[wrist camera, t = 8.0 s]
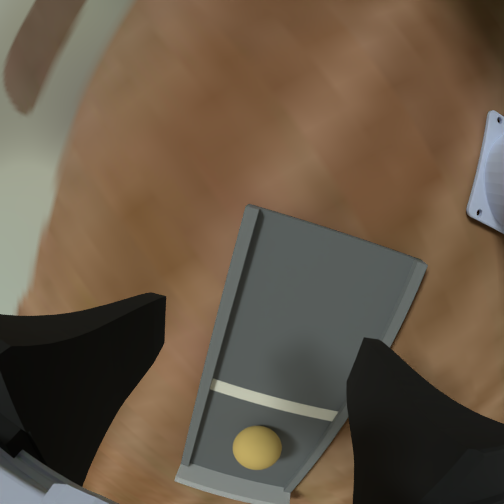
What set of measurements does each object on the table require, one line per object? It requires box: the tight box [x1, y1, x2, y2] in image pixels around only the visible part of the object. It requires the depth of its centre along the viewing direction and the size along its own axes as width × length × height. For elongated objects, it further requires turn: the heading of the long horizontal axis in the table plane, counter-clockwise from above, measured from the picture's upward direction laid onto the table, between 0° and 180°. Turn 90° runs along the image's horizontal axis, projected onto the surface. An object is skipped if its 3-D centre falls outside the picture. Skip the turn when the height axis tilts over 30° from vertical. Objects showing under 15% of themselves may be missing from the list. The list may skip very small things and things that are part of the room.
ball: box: [233, 426, 282, 470], centre depth 21 cm, size 4×4×4 cm
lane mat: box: [175, 204, 428, 504], centre depth 21 cm, size 12×28×3 cm, turn 165°
